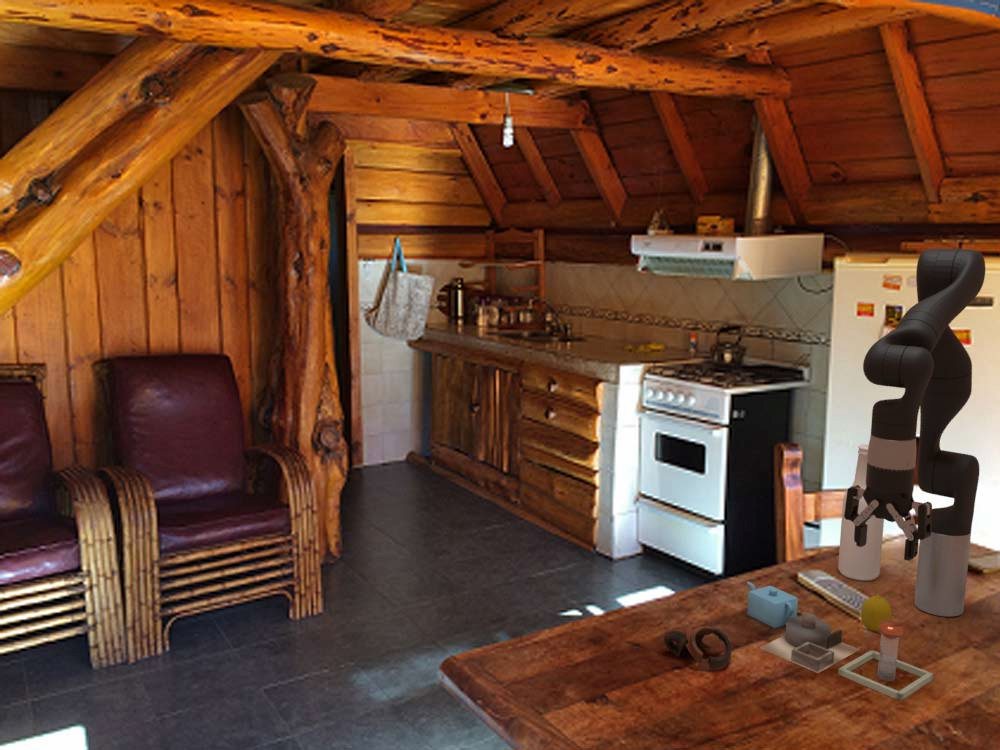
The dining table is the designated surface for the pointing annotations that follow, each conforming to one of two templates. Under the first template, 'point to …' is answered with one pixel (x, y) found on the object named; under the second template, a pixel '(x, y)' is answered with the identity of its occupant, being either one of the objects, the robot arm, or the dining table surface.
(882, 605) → the lemon
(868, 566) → the alcohol
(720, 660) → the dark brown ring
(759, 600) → the teapot
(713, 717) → the dining table surface
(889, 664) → the pin
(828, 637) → the pulley board
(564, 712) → the dining table surface
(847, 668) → the tray
